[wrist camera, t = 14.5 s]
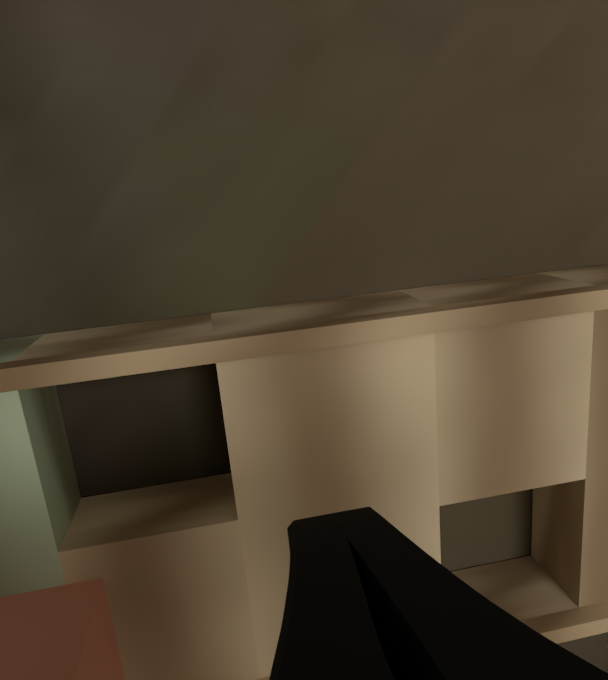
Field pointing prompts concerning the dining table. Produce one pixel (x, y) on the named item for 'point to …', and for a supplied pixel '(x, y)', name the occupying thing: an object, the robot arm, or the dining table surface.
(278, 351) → the trap tray
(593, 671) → the robot arm
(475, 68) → the dining table surface
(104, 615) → the brick block
